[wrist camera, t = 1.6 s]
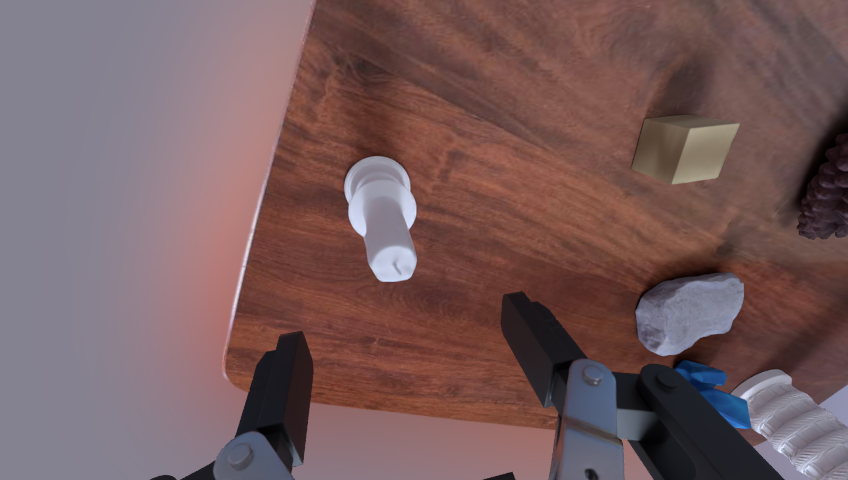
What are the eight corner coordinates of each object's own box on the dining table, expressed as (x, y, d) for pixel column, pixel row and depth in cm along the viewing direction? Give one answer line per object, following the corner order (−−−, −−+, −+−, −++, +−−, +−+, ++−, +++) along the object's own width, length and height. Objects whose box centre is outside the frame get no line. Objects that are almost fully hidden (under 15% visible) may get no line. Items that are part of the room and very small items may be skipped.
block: (644, 118, 28) (690, 128, 24) (688, 113, 29) (740, 122, 25) (630, 168, 31) (671, 184, 27) (672, 163, 31) (717, 178, 27)
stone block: (625, 284, 41) (634, 345, 44) (657, 302, 36) (664, 368, 40) (708, 249, 41) (711, 312, 45) (751, 263, 37) (749, 331, 40)
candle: (422, 188, 27) (466, 267, 17) (377, 229, 28) (393, 326, 18) (378, 141, 25) (399, 200, 14) (329, 187, 26) (317, 274, 16)
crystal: (728, 384, 41) (793, 415, 43) (679, 338, 49) (736, 366, 51) (684, 420, 44) (747, 448, 46) (644, 371, 52) (700, 396, 54)
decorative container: (778, 360, 56) (941, 475, 40) (788, 383, 61) (935, 493, 46) (717, 398, 58) (849, 521, 43) (731, 417, 64) (853, 532, 48)
